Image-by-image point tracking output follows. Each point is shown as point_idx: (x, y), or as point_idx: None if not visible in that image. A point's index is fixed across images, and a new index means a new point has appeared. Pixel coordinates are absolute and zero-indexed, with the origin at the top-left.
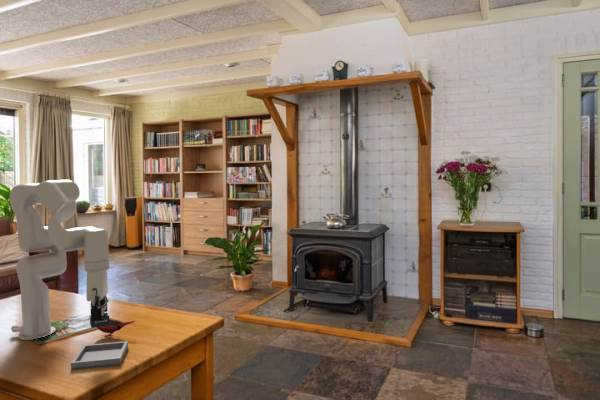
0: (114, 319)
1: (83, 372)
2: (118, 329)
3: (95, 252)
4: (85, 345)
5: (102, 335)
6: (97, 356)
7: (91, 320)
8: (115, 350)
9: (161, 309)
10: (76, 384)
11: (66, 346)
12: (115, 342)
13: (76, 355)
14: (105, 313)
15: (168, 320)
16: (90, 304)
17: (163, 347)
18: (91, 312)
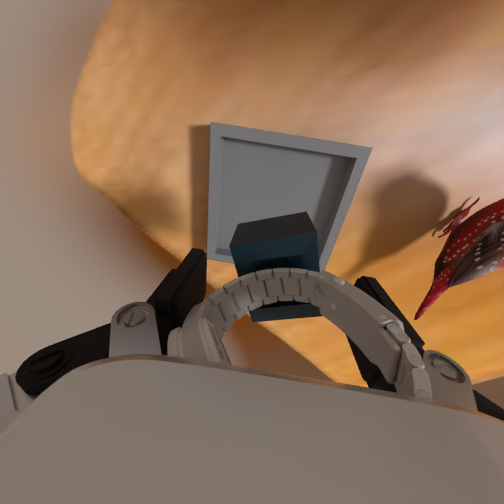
0: (488, 271)
1: (193, 165)
2: (436, 261)
3: None
4: (362, 157)
5: (475, 202)
6: (275, 198)
7: (194, 248)
8: None
9: None
10: (123, 155)
11: (481, 57)
12: (329, 249)
13: (274, 134)
14: (305, 309)
15: (452, 351)
16: (36, 356)
17: (277, 324)
18: (169, 282)
